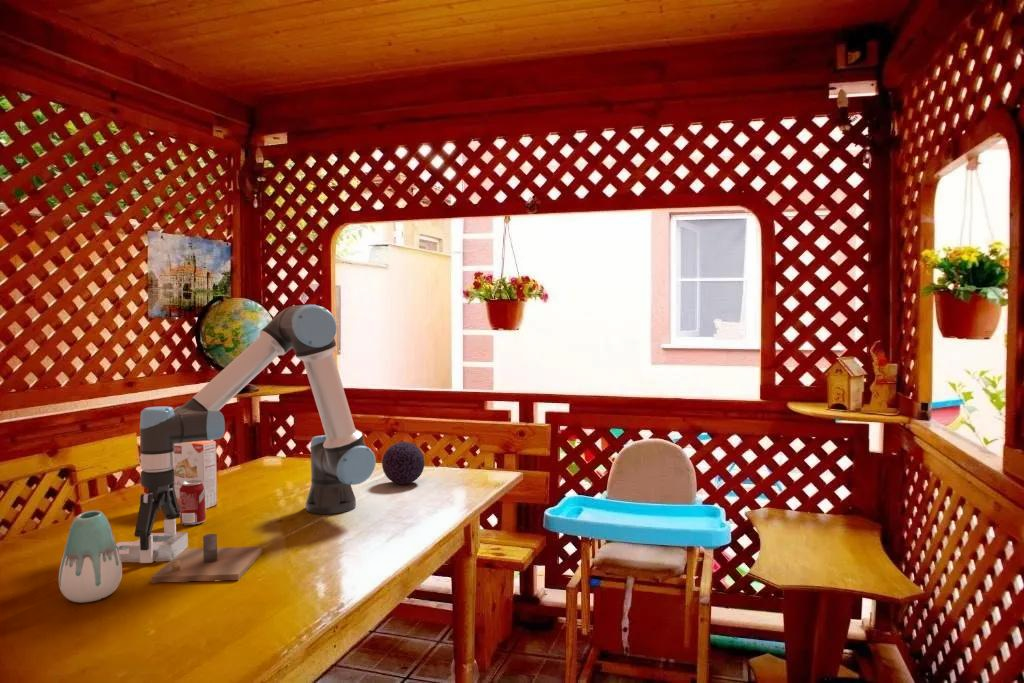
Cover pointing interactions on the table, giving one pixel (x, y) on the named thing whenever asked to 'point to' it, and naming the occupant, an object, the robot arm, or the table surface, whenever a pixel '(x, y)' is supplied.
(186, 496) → the soda can
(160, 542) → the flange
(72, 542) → the vase
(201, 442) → the cracker box
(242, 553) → the post base
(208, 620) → the table surface
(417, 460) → the toy ball
